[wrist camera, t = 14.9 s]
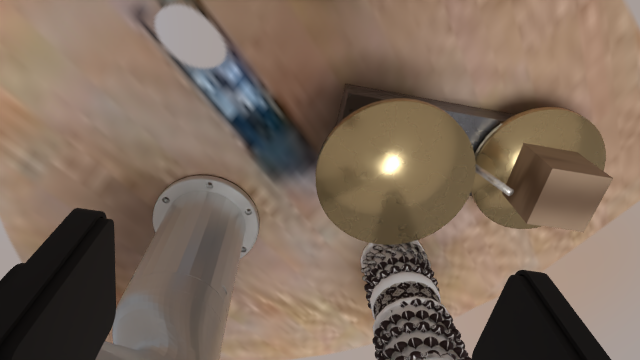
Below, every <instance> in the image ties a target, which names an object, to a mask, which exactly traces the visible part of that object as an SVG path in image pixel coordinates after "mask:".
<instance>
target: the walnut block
mask: <svg viewBox="0 0 640 360" xmlns="http://www.w3.org/2000/svg"><path fill="white" fill-rule="evenodd" d="M612 180H613V178H612V177H610V176H609V175H608V174H606V173H605V172H604V171H602V170H601V169H600V168H598V167H597V166H596V165H594V164H593V163H591V162H590V161H589V160H587V159H586V158H585V157H583V156H582V155H581V154H579V153H578V152H573V151H568V150H562V149H556V148H550V147H544V146H539V145H533V144H527V143H523V145H522V148H521V150H520V153H519V155H518V157H517V160H516V162H515V164H514V167H513V169H512V171H511V174H510V176H509V178H508V181H507V183H506V185H507V186H508V187H510V188H511V189H513V190H514V193H513V194H512V195H511V196H508V195H506V194H505V193H504V192H502V194H503V195H504V197H505V198H506V199H507V200H508V202H509V203H510V204H511V205H512V206H513V208H514V209H515V210H516V211H517V213H518V214H519V215H520V216H521V217H522V219H523V220H524V221H525V222H526V224H532V225H538V226H545V227H551V228H558V229H565V230H571V231H578V232H584V231H585V229H586V227H587V225H588V224H589V222H590V220H591V218H592V216H593V214H594V213H595V211H596V209H597V207H598V205H599V203H600V202H601V200H602V198H603V196H604V194H605V192H606V191H607V189H608V187H609V185H610V183H611V181H612Z"/></svg>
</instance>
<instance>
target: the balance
mask: <svg viewBox="0 0 640 360" xmlns="http://www.w3.org/2000/svg"><path fill="white" fill-rule="evenodd" d="M523 143H527V144H533V145H539V146H544V147H550V148H556V149H562V150H568V151H573V152H578V153H579V154H581V155H582V156H583V157H585V158H586V159H587V160H589V161H590V162H591V163H593V164H594V165H596V166H597V167H598V168H600V169H601V170H602V171H603V170H604V166H605V161H606V151H605V145H604V141H603V138H602V136H601V134H600V132H599V131H598V129H597V128H596V127H595V126H594V125H593V124H592V123H591V122H590V121H589V120H587V119H586V118H584V117H583V116H581V115H579V114H578V113H575V112H573V111H571V110H568V109H564V108H558V107H541V108H534V109H531V110H527V111H524V112H521V113H519V114H516V115H515V114H509V113H503V112H498V111H492V110H487V109H481V108H476V107H470V106H465V105H459V104H454V103H448V102H443V101H437V100H432V99H426V98H420V97H415V96H409V95H404V94H398V93H393V92H387V91H382V90H376V89H371V88H365V87H360V86H354V85H349V84H345V88H344V92H343V97H342V101H341V106H340V111H339V115H338V120H337V124H336V126H335V128H334V129H333V130H332V131H331V133H330V134H329V135H328V137H327V139H326V140H325V142H324V143H323V146H322V148H321V150H320V153H319V156H318V160H317V165H316V188H317V194H318V197H319V201H320V203H321V206H322V208H323V210H324V211H325V213H326V214H327V216H328V217H329V219H330V220H331V221H332V222H333V223H334V224H335V225H336V226H337V227H338V228H340V229H341V230H342V231H344V232H345V233H347V234H348V235H350V236H352V237H354V238H356V239H359V240H362V241H365V242H369V243H374V244H382V245H396V244H403V243H408V242H412V241H416V240H419V239H421V238H424V237H426V236H428V235H430V234H432V233H434V232H436V231H437V230H439V229H441V228H442V227H443V226H445V225H446V224H447V223H448V222H449V221H451V220H452V219H453V218H454V217H455V216H456V214H457V213H458V212H459V211H460V210H461V208H462V207H463V205H464V204H465V202H466V201H467V199H468V196H469V195H471V196H472V197H473V199H474V201H475V203H476V204H477V206H478V207H479V208H480V210H481V211H482V212H483V213H484V214H485V215H486V216H487V217H488V218H489V219H491V220H492V221H494V222H496V223H497V224H500V225H503V226H505V227H510V228H517V229H530V228H537V227H541V226H538V225H532V224H526V222H525V221H524V220H523V219H522V217H521V216H520V215H519V214H518V213H517V211H516V210H515V209H514V208H513V206H512V205H511V204H510V203H509V202H508V200H507V199H506V198H505V197H504V195H503V194H502V192H504V193H505V194H506V195H508V196H511V195H512V194H513V193H514V190H513V189H511V188H510V187H508V186H507V185H506V183H507V181H508V178H509V176H510V174H511V171H512V169H513V167H514V164H515V162H516V160H517V157H518V155H519V153H520V150H521V148H522V145H523Z"/></svg>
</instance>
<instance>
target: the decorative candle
mask: <svg viewBox="0 0 640 360" xmlns="http://www.w3.org/2000/svg"><path fill="white" fill-rule="evenodd" d="M360 261H361V266H362V269H361V272H362V273H364V274H365V276H363V277H362V279H363V280H364V281H366V282H367V283H368V284H366V285H365V286H364V287H365V291H366V292H368V293H367V294H366V299H367V300H368V301H369V303H368V307H369V308H370V309H372V314H373V318H374V319H375V322H374V325H373V332H374V338H373V344H374V345H376V346H375V349H376V352H375V357H376V358H377V359H378V360H472V359H471V358H470V357H468V353H467V351H466V350H464V349H465V344H464V342H463V341H462V340H460V337H461V334H460V332H459V331H458V330H457V329H456V328H455V326H454V324H453V323H452V321H453V319H452V317H451V315H450V314H449V313H448V311H447V310H446V308H445V307H444V305H442V304H441V302H440V295H439V288H438V287H437V286H436V285H437V284H438V282H437V280H436V279H435V278H433V276H434V272H433V271H432V270H431V268H430V267H431V264H430V262H429V260H428V259H427V254H426V253H425V252H424V249H423V247H422V246H421V244H420V243H419V241H418V240H416V241H412V242H408V243H403V244H396V245H382V244H374V243H369V244H368V245H367V246H366V247H365V248H364V250H363V253H362V256H361V259H360ZM455 343H456V344H455ZM381 353H382V356H381Z"/></svg>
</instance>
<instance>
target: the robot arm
mask: <svg viewBox="0 0 640 360" xmlns="http://www.w3.org/2000/svg"><path fill="white" fill-rule="evenodd" d="M209 182H210V183H212V184H210V183H209ZM167 197H168V198H167ZM249 209H250V210H249ZM152 222H153V227H154V231H155V235H154V237H153V239H152V241H151V243H150V245H149V246H148V248H147V250H146V252H145V254H144V256H143V258H142V260H141V261H140V263H139V265H138V267H137V269H136V271H135V273H134V275H133V277H132V278H131V280H130V282H129V284H128V286H127V288H126V290H125V292H124V294H123V295H122V297H121V299H120V301H119V303H118V306H117V308H116V286H115V244H114V222H113V220H112V219H106V215H105V213H104V212H102V211H95V210H88V209H80V208H75V209H74V210H73V211H72V212H71V213H70V214H69V215H68V216H67V217H66V218H65V219H64V221H63V222H62V223H61V224H60V225H59V226H58V227H57V228H56V229H55V231H54V232H53V233H52V234H51V235H50V236H49V237H48V238H47V240H46V241H45V242H44V243H43V244H42V245H41V246H40V247H39V248H38V250H37V251H36V252H35V253H34V254H33V255H32V256H31V257H30V259H29V260H28V261H27V262H26V263H20V264H17V265H16V266H14V267H13V268H12V269H11V270H10V271H9V272H8V273H7V274H6V275H5V276H4V277H3V278H2V279H1V281H0V360H219V359H220V352H221V346H222V341H223V336H224V331H225V326H226V321H227V316H228V312H229V307H230V302H231V297H232V293H233V288H234V283H235V279H236V274H237V269H238V264H239V260H240V259H241V258H242V257H244V256H245V255H246V254H247V253H248V252H249V251H250V250H251V249H252V247H253V245H254V244H255V242H256V239H257V236H258V231H259V216H258V212H257V209H256V207H255V205H254V203H253V201H252V200H251V199H250V197H249V196H248V195H247V194H246V193H245V192H244V191H243V190H242V189H240V188H239V187H238V186H236V185H235V184H233V183H231V182H229V181H227V180H224V179H221V178H218V177H213V176H203V175H197V176H191V177H186V178H183V179H180V180H178V181H176V182H174V183H173V184H171V185H170V186H169V187H167V188H166V189H165V190H164V191H163V192H162V194H161V195H160V197H159V198H158V200H157V202H156V204H155V206H154V210H153V218H152ZM112 326H113V344H112V343H109V342H106V341H105V340H106V338H107V336H108V334H109V332H110V330H111V328H112ZM472 360H611V359H610V357H609V356H608V355H607V354H606V352H605V351H604V349H603V348H602V347H601V346H600V344H599V343H598V342H597V340H596V339H595V338H594V336H593V335H592V334H591V332H590V331H589V330H588V328H587V327H586V326H585V324H584V323H583V322H582V320H581V319H580V318H579V316H578V315H577V314H576V312H575V311H574V310H573V308H572V307H571V306H570V304H569V303H568V302H567V300H566V299H565V298H564V296H563V295H562V294H561V292H560V291H559V290H558V288H557V287H556V286H555V284H554V283H553V282H552V280H551V279H550V278H549V276H548V275H546V274H545V273H541V272H534V271H527V270H519V271H518V272H517V273H516V274H515V275H511V276H510V277H509V278H508V280H507V282H506V284H505V286H504V289H503V291H502V293H501V295H500V297H499V299H498V301H497V303H496V305H495V307H494V309H493V312H492V314H491V315H490V318H489V320H488V322H487V324H486V326H485V328H484V330H483V332H482V334H481V336H480V338H479V341H478V342H477V345H476V347H475V349H474V351H473V354H472Z"/></svg>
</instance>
